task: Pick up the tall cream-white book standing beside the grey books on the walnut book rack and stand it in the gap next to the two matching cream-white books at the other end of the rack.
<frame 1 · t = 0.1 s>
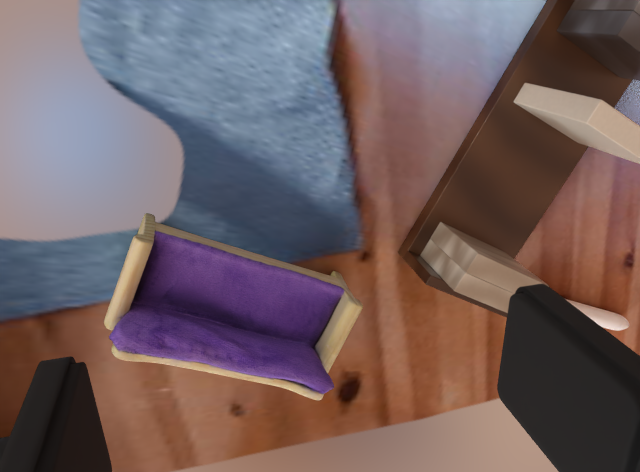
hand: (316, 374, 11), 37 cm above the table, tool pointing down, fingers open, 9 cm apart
book rack: (525, 138, 53), on the table
beige rod: (568, 305, 63), on the table
toy sofa: (234, 279, 51), on the table
white book: (551, 113, 50), point 1 cm above the table, touching book rack
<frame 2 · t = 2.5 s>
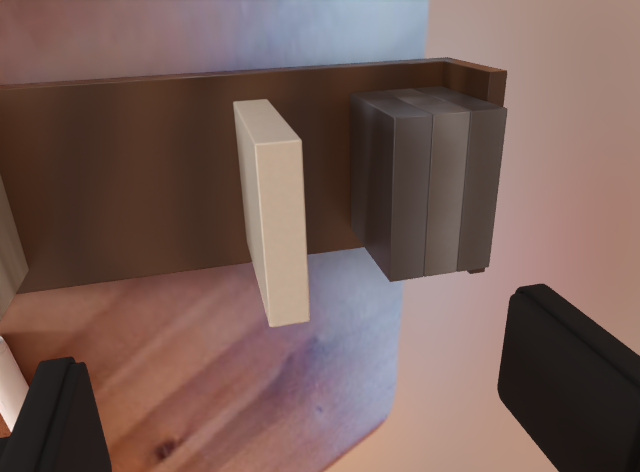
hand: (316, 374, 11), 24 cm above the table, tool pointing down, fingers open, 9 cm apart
book rack: (206, 172, 33), on the table
beige rod: (44, 433, 38), on the table
white book: (256, 174, 32), point 1 cm above the table, touching book rack
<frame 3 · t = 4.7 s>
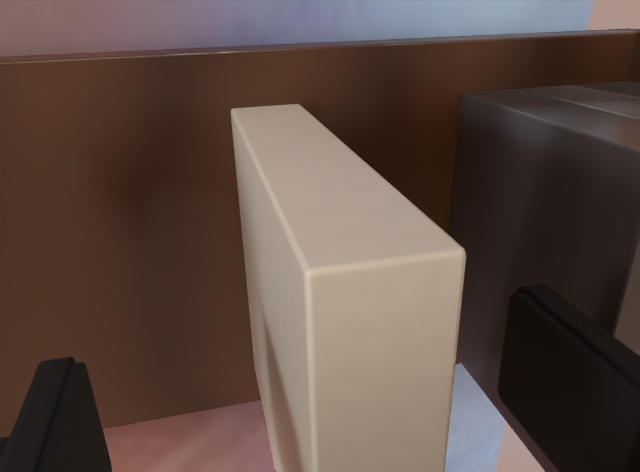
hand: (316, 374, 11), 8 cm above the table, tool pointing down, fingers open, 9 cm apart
book rack: (178, 240, 17), on the table
white book: (275, 248, 17), point 1 cm above the table, touching book rack
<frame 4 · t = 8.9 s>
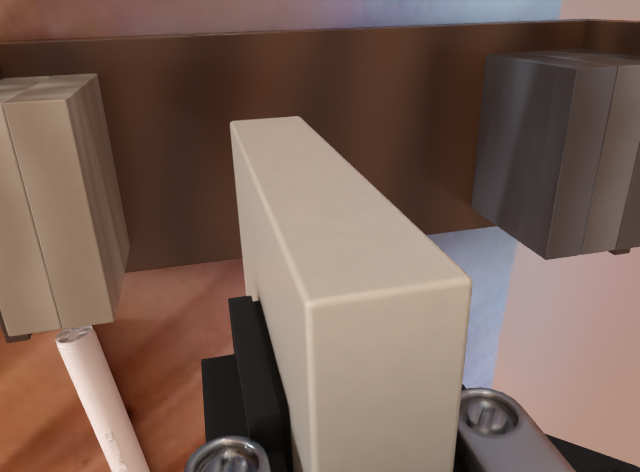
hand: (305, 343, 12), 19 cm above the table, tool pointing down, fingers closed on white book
book rack: (320, 141, 30), on the table
beige rod: (122, 432, 35), on the table
white book: (274, 261, 17), point 14 cm above the table, touching gripper
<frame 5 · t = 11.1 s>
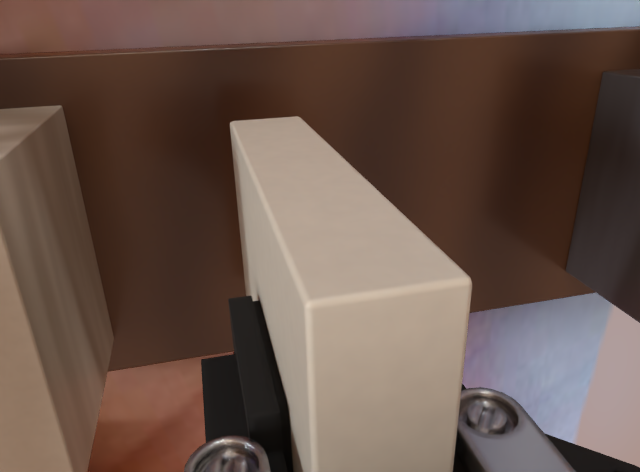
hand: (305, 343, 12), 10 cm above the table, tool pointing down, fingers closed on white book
book rack: (372, 189, 22), on the table
white book: (274, 261, 17), point 5 cm above the table, touching gripper
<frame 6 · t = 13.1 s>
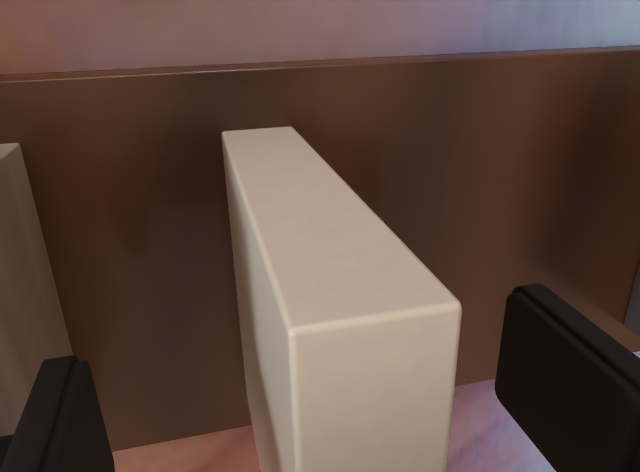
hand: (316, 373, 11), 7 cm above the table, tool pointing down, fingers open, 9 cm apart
book rack: (401, 233, 19), on the table
white book: (267, 272, 16), point 1 cm above the table, touching book rack
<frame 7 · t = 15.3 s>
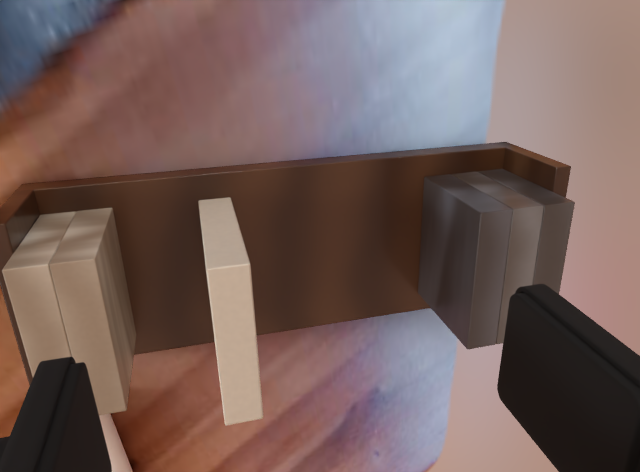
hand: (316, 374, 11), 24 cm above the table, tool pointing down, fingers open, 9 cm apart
book rack: (292, 244, 37), on the table
white book: (221, 263, 34), point 1 cm above the table, touching book rack
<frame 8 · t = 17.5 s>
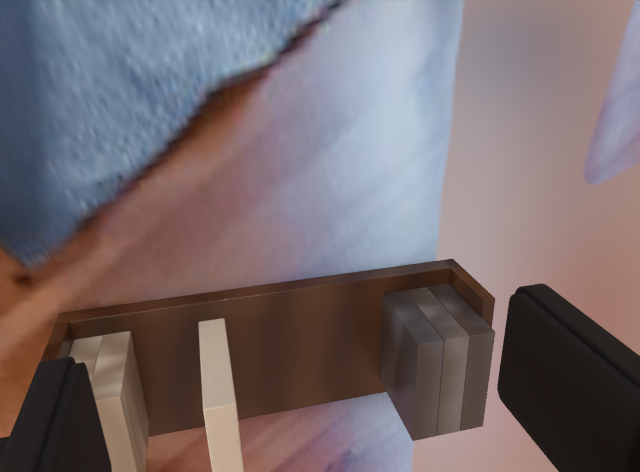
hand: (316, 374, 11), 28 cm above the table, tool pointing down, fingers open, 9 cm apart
book rack: (275, 345, 45), on the table
white book: (217, 366, 43), point 1 cm above the table, touching book rack
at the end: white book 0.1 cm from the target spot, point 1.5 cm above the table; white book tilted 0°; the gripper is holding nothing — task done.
